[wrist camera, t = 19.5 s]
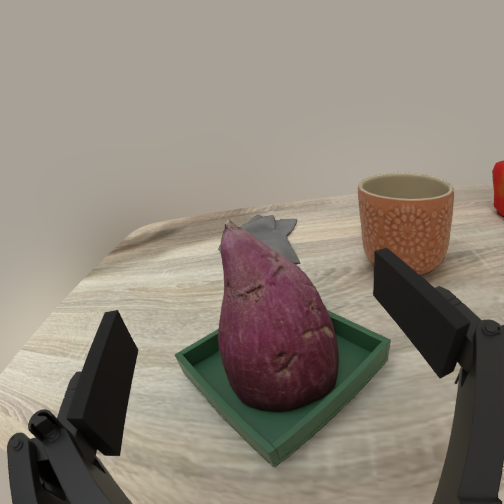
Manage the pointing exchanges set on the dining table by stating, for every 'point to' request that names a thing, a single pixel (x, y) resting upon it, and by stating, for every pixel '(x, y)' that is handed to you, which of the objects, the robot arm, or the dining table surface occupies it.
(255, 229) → the cloth
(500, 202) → the apple
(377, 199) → the planter
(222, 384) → the green tray
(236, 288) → the vegetable
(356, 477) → the dining table surface
